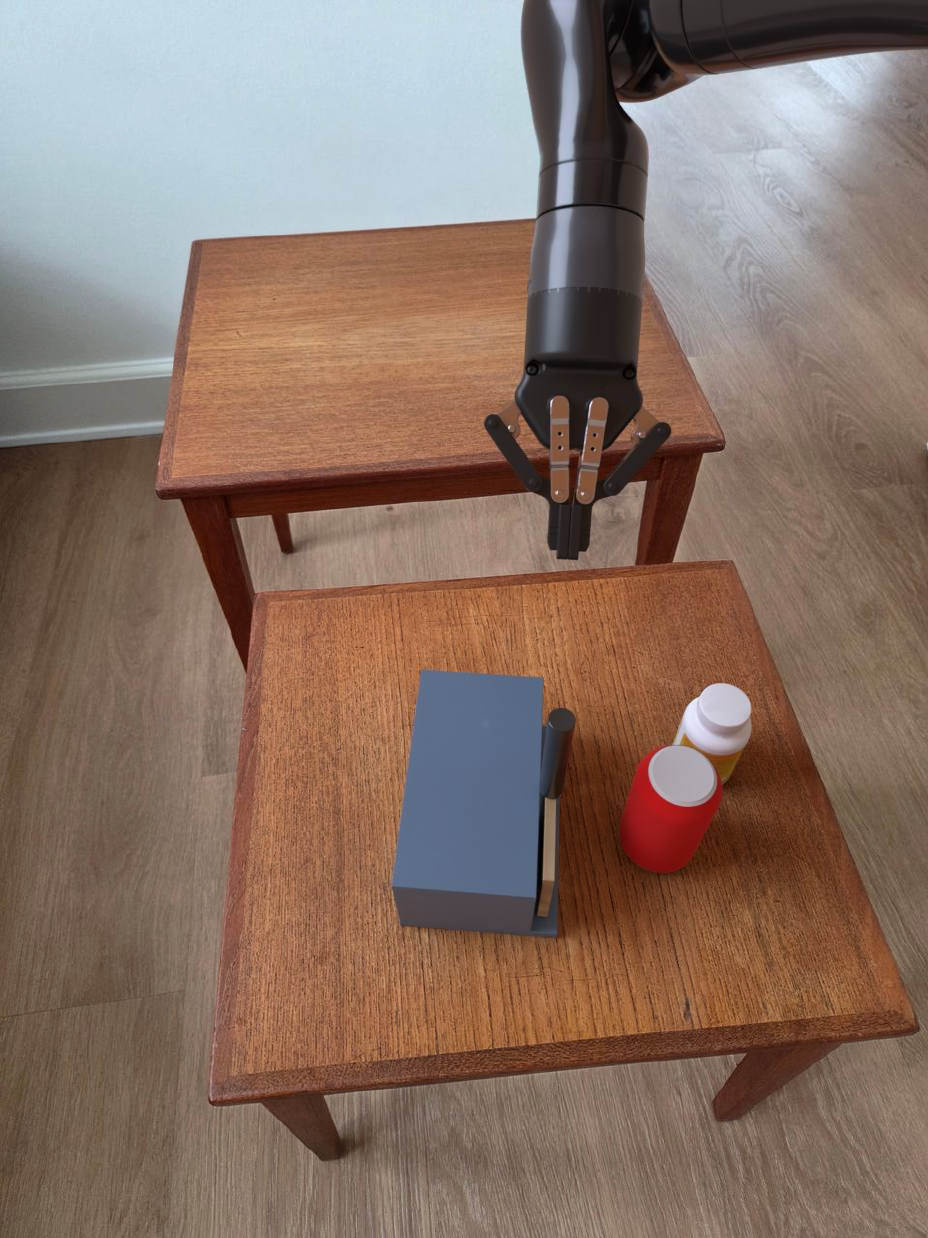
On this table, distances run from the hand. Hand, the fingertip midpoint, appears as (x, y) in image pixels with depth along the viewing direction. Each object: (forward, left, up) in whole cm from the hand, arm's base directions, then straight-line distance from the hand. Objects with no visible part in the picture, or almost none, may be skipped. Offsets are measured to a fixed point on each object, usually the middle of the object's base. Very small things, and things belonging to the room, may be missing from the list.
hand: (567, 558), depth 58 cm
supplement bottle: (-11, -8, -22) cm, 26 cm away
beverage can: (-14, 0, -22) cm, 26 cm away
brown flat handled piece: (-10, +9, -21) cm, 25 cm away
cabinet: (-4, +11, -22) cm, 25 cm away
